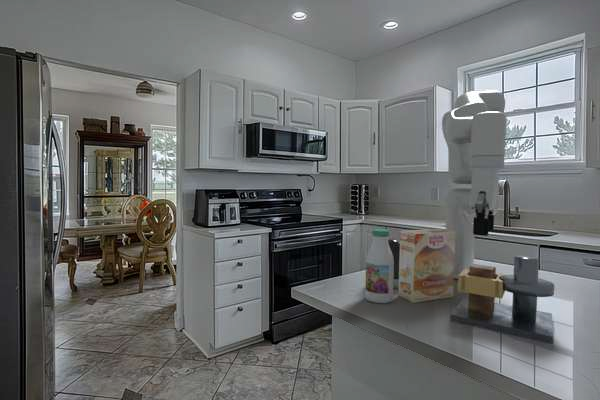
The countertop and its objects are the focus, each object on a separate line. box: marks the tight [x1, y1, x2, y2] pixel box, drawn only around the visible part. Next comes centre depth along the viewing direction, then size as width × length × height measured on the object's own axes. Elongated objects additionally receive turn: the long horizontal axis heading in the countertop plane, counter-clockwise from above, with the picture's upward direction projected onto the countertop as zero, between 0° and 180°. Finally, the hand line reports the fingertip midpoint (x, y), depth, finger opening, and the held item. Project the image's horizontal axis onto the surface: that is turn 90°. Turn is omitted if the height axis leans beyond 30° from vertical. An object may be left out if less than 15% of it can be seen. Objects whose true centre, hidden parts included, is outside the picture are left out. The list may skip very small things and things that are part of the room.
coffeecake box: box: [397, 228, 456, 303], centre depth 101 cm, size 15×7×20 cm, turn 112°
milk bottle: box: [364, 228, 394, 304], centre depth 98 cm, size 8×8×20 cm
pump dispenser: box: [388, 238, 400, 289], centre depth 111 cm, size 10×10×15 cm
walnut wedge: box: [468, 263, 497, 315], centre depth 86 cm, size 5×4×11 cm
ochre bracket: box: [457, 269, 507, 300], centre depth 89 cm, size 10×14×4 cm, turn 144°
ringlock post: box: [450, 255, 555, 345], centre depth 84 cm, size 20×16×16 cm
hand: (483, 232), depth 86 cm, fingers open, 9 cm apart
